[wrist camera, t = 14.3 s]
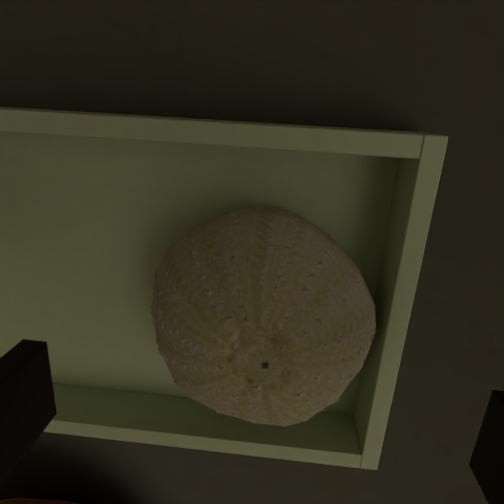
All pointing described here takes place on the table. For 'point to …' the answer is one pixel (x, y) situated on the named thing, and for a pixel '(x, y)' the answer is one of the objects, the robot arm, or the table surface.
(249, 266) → the sea urchin shell
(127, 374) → the tray
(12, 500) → the bowl
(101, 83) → the table surface
